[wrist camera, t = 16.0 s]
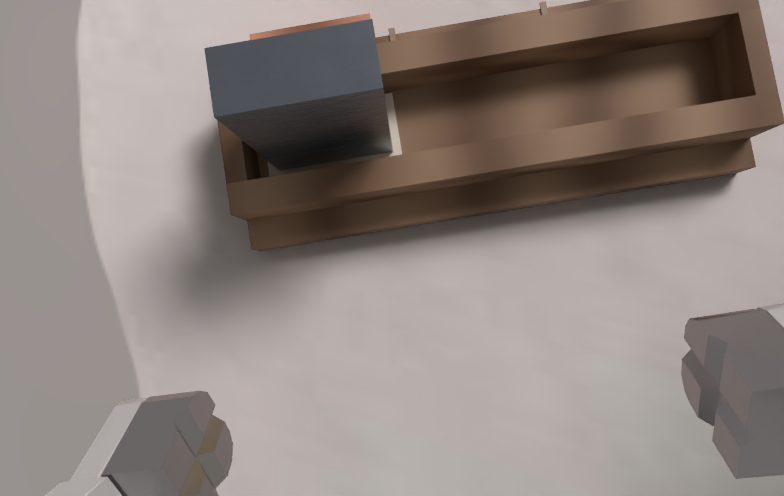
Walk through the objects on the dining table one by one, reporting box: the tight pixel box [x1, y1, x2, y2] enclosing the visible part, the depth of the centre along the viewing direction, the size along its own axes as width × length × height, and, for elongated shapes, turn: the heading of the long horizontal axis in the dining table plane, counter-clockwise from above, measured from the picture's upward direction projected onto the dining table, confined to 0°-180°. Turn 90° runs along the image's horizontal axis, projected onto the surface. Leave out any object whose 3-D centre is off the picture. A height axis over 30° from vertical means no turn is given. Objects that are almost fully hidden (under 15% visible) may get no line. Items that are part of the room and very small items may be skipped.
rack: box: [218, 0, 784, 251], centre depth 27 cm, size 26×10×4 cm, turn 99°
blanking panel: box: [205, 19, 393, 171], centre depth 23 cm, size 6×2×9 cm, turn 99°
